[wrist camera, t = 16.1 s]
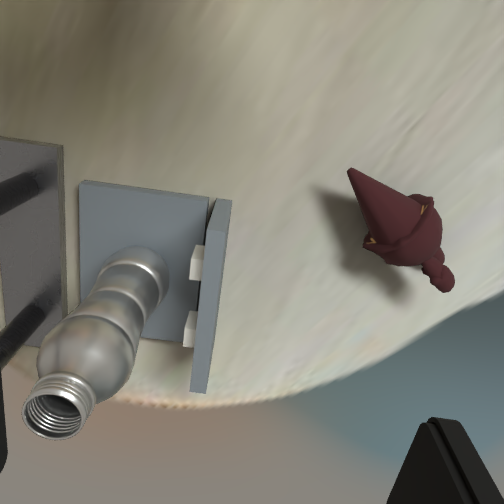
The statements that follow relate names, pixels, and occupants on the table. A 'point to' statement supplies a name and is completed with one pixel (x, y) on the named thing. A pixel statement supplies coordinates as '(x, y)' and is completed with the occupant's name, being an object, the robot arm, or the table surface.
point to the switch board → (170, 249)
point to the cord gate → (31, 242)
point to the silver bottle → (95, 344)
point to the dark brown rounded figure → (402, 228)
